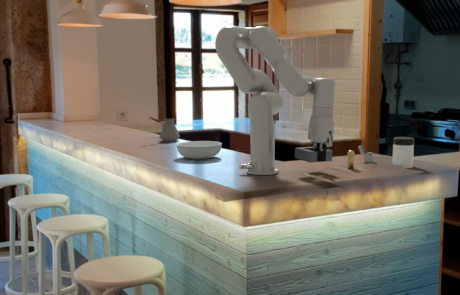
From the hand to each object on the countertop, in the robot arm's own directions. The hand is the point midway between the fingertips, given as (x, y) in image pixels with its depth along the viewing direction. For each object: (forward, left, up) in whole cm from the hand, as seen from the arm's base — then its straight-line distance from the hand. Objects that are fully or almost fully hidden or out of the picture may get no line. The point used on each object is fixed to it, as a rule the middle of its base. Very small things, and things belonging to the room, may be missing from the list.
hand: (319, 160), depth 206 cm
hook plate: (+18, +3, -6) cm, 19 cm away
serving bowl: (-19, +65, -7) cm, 68 cm away
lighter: (+35, +13, -7) cm, 38 cm away
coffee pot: (-12, +128, -7) cm, 129 cm away
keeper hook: (+18, +3, -5) cm, 19 cm away
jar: (+44, +1, -7) cm, 44 cm away
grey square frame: (0, +4, 0) cm, 4 cm away
